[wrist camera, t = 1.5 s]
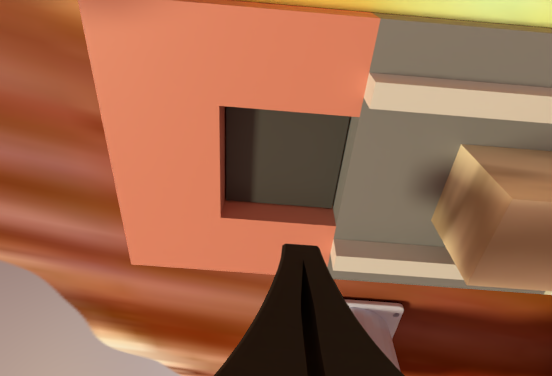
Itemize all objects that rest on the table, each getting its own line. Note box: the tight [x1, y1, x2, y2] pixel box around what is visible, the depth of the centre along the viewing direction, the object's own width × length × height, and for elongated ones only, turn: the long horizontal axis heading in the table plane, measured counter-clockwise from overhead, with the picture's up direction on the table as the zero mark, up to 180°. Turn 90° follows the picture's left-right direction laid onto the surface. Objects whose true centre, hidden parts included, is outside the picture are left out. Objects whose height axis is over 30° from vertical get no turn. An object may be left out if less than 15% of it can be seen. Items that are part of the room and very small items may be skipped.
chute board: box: [78, 0, 552, 295], centre depth 20 cm, size 16×42×4 cm, turn 86°
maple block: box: [431, 144, 552, 291], centre depth 18 cm, size 5×5×5 cm
